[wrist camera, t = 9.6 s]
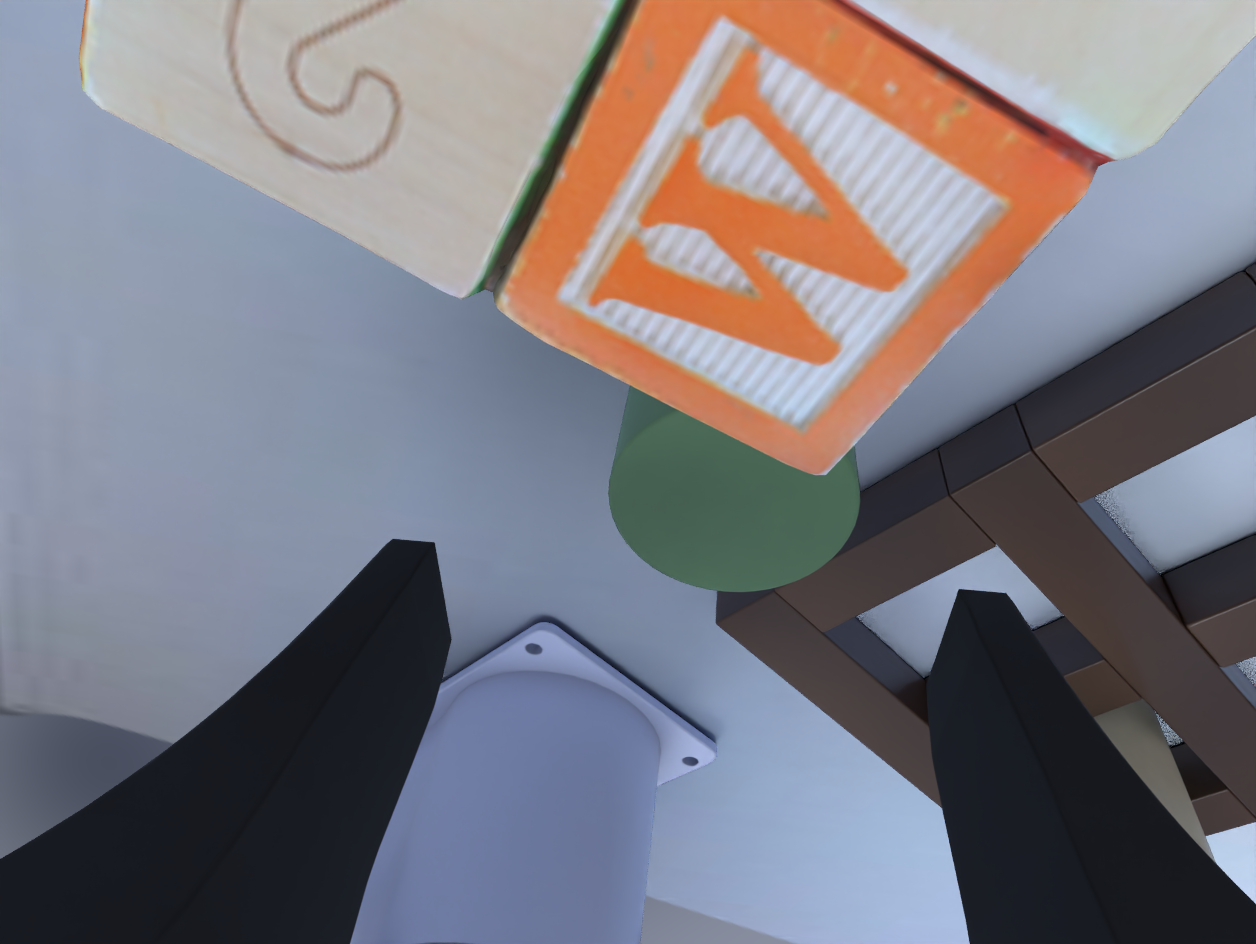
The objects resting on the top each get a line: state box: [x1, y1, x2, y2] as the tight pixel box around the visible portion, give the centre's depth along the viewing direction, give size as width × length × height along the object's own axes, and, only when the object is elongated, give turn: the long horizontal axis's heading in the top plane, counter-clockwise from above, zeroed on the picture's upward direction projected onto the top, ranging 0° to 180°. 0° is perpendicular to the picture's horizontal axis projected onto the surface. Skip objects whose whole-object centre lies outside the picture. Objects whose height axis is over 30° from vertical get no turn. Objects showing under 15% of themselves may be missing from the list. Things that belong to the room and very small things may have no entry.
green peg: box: [608, 385, 860, 592], centre depth 17 cm, size 4×4×7 cm
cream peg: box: [1094, 697, 1216, 863], centre depth 25 cm, size 4×4×7 cm
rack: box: [716, 263, 1256, 836], centre depth 23 cm, size 16×16×2 cm
